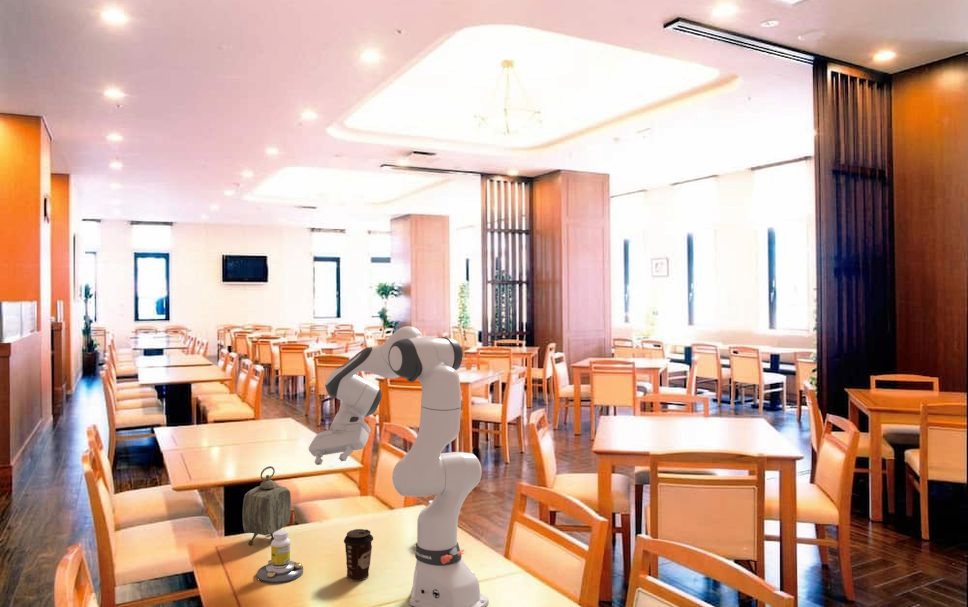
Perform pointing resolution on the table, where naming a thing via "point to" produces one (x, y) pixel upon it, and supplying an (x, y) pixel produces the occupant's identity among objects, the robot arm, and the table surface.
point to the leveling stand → (280, 573)
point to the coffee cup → (358, 553)
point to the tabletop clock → (266, 508)
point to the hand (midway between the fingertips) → (329, 461)
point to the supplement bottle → (280, 550)
